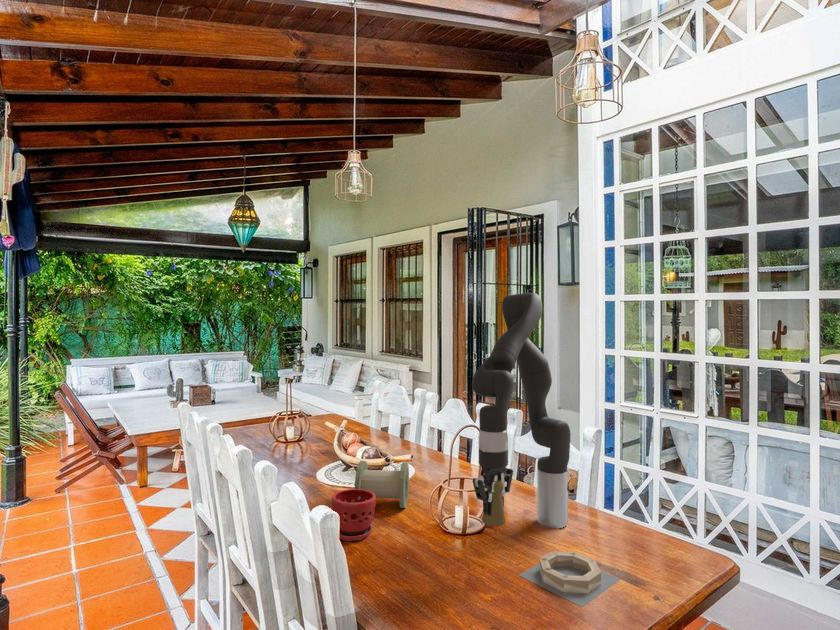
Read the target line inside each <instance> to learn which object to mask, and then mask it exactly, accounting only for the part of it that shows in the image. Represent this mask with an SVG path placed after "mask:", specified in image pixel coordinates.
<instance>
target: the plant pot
mask: <svg viewBox="0 0 840 630" xmlns="http://www.w3.org/2000/svg"><path fill="white" fill-rule="evenodd" d="M358 497H361V499H358ZM365 499H366V500H365ZM376 499H377V498H376V496H375V494H374V493H372V492H370V491H367V490H362V489H355V488H349V489H343V490H339V491H337V492H335V493H334V494H333V495H332V497H331V511H332V510H333V511H335V512H337V513H338V514H339V516H340V538H339V540H343V541H348V542H350V541H351V542H352V541H361V540H363V539H365V538H367V537H369V535H370V534H371V533H372V531H373V528H372V525H371V524H372V522H373V519H374V518H375V510H376ZM352 500H354V502H352Z"/></svg>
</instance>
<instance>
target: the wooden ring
mask: <svg viewBox="0 0 840 630" xmlns="http://www.w3.org/2000/svg"><path fill="white" fill-rule="evenodd" d="M538 564H539V570H540V573H541V576H542V579H543V582H544V583H546V584H548V585H550V586H552V587H554V588H556V589H558V590H560V591H562V592H570V593H590V592H591V591H592V590H594V589H595V588H597V587H598V586H600V585H601V571H602V570H601V571H600V568H599V566H598V563H597V562H596V560H595V559H592V558H589V557H587V556H585V555H582V554H580V553H577V552H575V551H550V552H548V553H546V554H545V555H542V557H539V563H538ZM555 567H574V568H576V569H579V570H581V571H583V572H585V573H587V574H585V575H584V576H567V575H564V574H561V573H559V572H557V571H555V570H553V569H554V568H555Z"/></svg>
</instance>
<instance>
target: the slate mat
mask: <svg viewBox="0 0 840 630" xmlns="http://www.w3.org/2000/svg"><path fill="white" fill-rule="evenodd" d="M553 570H555V571H557V572H559V573H561V574H564V575H567V576H584V575H585V574H587V573H585V572H583V571H581V570H579V569H576V568H574V567H555V568H554V569H553ZM600 571H601V585H600V586H598V587H597V588H595V589H594V590H592V591H591V592H590V593H570V592H562V591H560V590H558V589H556V588H554V587H552V586H550V585H548V584H546V583H544V582H543V579H542V576H541V573H540V570H539V563H538V564H536V565H534V566H532V567H531V568H529V569H527V570H525V571H523V572H522V573H520V574H518V576H519V577H520V578H524V579H525V580H527V581H529V582H531V583H533V584H535V585H538V586H539V587H541V588H543V589H545V590H546V591H549V592H551V593H553V594H554V595H557V596H559V597H561V598H563V599H565V600H567V601H568V602H571V603H573V604H575V605H577V606H579V607H581V608H584V607H585V606H587V604H589V603H590V602H591V601H593V600H595V599H596V598H597V597H599V596H600V595H601V594H602V593H605V591H607V590H608V589H609V588H611V587H613V586H614V585H615V584H617V582H619V581H621V578H620V577H617V576H615V575H613V574H611V573H608V572H606V571H604V570H600Z"/></svg>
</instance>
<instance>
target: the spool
mask: <svg viewBox="0 0 840 630" xmlns="http://www.w3.org/2000/svg"><path fill="white" fill-rule="evenodd" d="M367 462H368V461H366V460H359V462H358V464H357V468H356V472H355V479H354V489H362V490H367V491H370V492H372V493H374V494H375V496H376V499H398V500H399V501H398V502H399V508H400V509H407V506H408V500H409V491H410V489H409V487H410V470H409V469H410V468H409V462H408V461H402V462H401V465H400V470H383V469H382V470H381V469H379V470H378V469H369V467H368V463H367ZM358 499H361V497H358ZM365 501H367V499H365Z"/></svg>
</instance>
